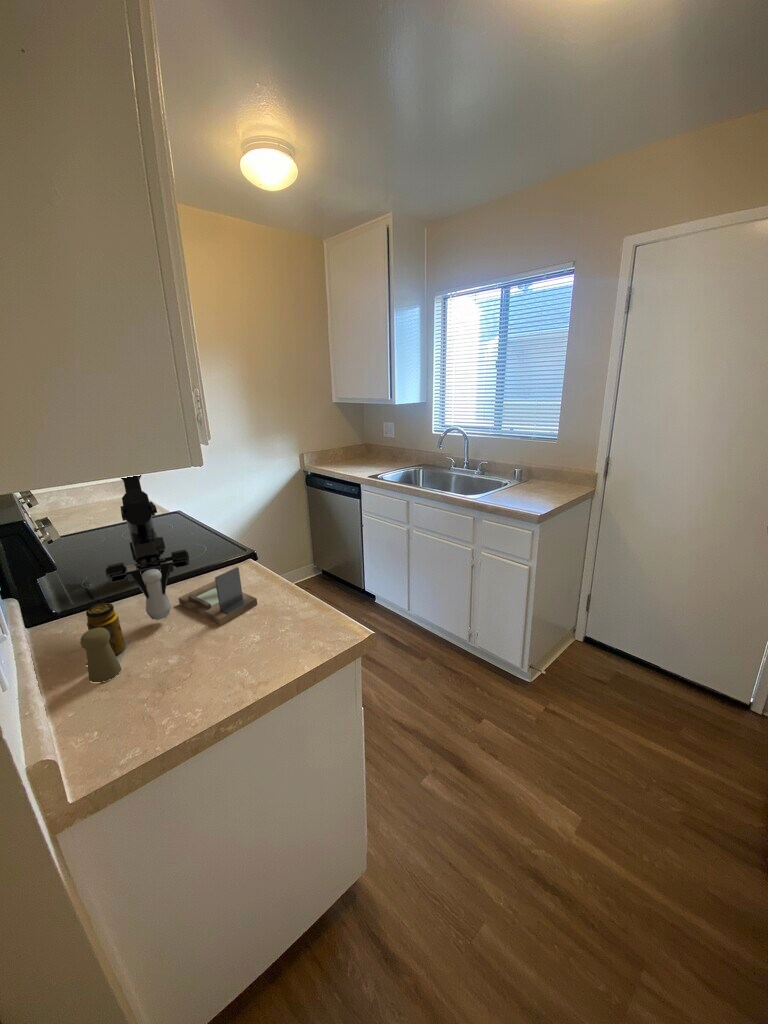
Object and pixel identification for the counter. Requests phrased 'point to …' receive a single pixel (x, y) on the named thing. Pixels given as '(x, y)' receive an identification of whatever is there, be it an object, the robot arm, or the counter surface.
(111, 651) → the cork
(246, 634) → the counter surface
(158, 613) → the salt shaker
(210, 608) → the wooden card stand
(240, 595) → the bookend
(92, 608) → the condiment
